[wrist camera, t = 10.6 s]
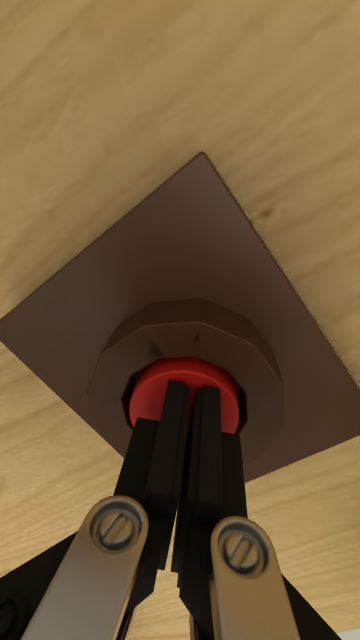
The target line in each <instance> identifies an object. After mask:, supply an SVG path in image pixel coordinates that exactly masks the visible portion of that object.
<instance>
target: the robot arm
mask: <svg viewBox="0 0 360 640" xmlns="http://www.w3.org/2000/svg"><path fill="white" fill-rule="evenodd" d="M190 393H191V388H187V387H185V382H179V381H173V380H168V385H167V390H166V394H165V399H164V404H163V408H162V413H161V418H160V421H158V420H152V419H146V418H140V417H138V418H137V420H136V422H135V426H134V429H133V432H132V436H131V439H130V442H129V445H128V449H127V452H126V455H125V459H124V462H123V465H122V469H121V472H120V475H119V478H118V482H117V485H116V488H115V492H114V495H113V496H109V497H107V498H104V499H102V500H100V501H99V502H98V503H96V504H95V505H94V506H93V507H92V508H91V510H90V511H89V512H88V514H87V515H86V517H85V519H84V521H83V523H82V525H81V527H80V528H79V530H78V531H77V532H75V533H74V534H72V535H70V536H69V537H67V538H66V539H64V540H62V541H61V542H59V543H57V544H56V545H54V546H52V547H51V548H49V549H47V550H46V551H44V552H42V553H41V554H39V555H38V556H36V557H34V558H33V559H31V560H29V561H28V562H26V563H24V564H23V565H21V566H19V567H18V568H16V569H14V570H13V571H11V572H10V573H8V574H6V575H5V576H3V577H1V578H0V640H127V638H128V634H129V631H130V628H131V625H132V621H133V618H134V615H135V611H136V607H137V605H138V604H140V603H141V602H142V601H143V600H144V599H145V598H147V597H148V596H149V595H150V594H151V593H152V592H153V591H154V585H155V580H156V575H157V569H160V570H165V565H166V560H167V555H168V550H169V545H170V541H171V536H172V531H173V526H174V521H175V516H176V511H177V517H176V527H175V536H174V545H173V554H172V564H171V572H176V573H178V582H177V587H178V588H180V594H179V597H180V599H181V600H182V602H183V603H184V605H185V606H186V608H187V609H188V611H189V612H190V615H189V625H190V640H341V639H340V637H339V636H338V635H337V634H336V633H335V632H334V631H333V630H332V629H331V627H330V626H329V625H328V624H327V623H326V622H325V621H324V620H323V619H322V618H321V616H320V615H319V614H318V613H317V612H316V611H315V610H314V609H313V608H312V607H311V605H310V604H309V603H308V602H307V601H306V600H305V599H304V598H303V597H302V595H301V594H300V593H299V592H298V591H297V590H296V589H295V588H294V587H293V586H292V584H291V583H290V582H289V581H288V580H287V579H286V578H285V577H284V576H283V575H282V573H281V571H280V567H279V564H278V560H277V557H276V553H275V550H274V547H273V545H272V542H271V540H270V538H269V536H268V535H267V534H266V532H265V531H264V530H263V529H262V528H261V527H260V526H259V525H258V524H256V523H255V522H254V521H251V520H249V519H248V517H247V506H246V495H245V484H244V473H243V462H242V451H241V440H240V436H239V434H233V433H227V432H221V392H220V388H214V387H209V386H203V388H202V390H199V389H196V392H195V397H194V402H193V407H192V412H191V417H190V422H189V428H188V433H187V438H186V431H187V421H188V412H189V402H190ZM185 440H186V443H185ZM177 506H178V508H177Z"/></svg>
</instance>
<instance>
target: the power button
mask: <svg viewBox="0 0 360 640" xmlns="http://www.w3.org/2000/svg"><path fill="white" fill-rule="evenodd" d="M168 380H173V381H179V382H185V387H187V388H191V393H190V402H189V412H188V421H187V431H186V438H187V433H188V428H189V422H190V417H191V412H192V407H193V402H194V397H195V392H196V389H199V390H202V388H203V386H209V387H214V388H220V392H221V432H227V433H233V434H234V433H235V431H236V429H237V426H238V422H239V408H238V398H237V388H236V380H235V379H234V378H233V377H232V376H231V374H230V373H229V372H228V371H227V370H226V369H224V368H221V367H219V366H216V365H214V364H211V363H209V362H206V361H204V360H202V359H199V358H197V357H194V356H193V357H177V358H161V359H157V360H155V361H154V362H152V363H150V364H149V365H147V366H146V367H144V368H142V369H141V371H140V374H139V377H138V380H137V383H136V386H135V389H134V392H133V395H132V398H131V401H130V406H129V413H130V419H131V422H132V425H133V427H134V426H135V422H136V420H137V418H138V417H140V418H146V419H152V420H158V421H160V418H161V413H162V408H163V404H164V399H165V394H166V390H167V385H168ZM185 443H186V440H185Z"/></svg>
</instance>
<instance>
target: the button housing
mask: <svg viewBox="0 0 360 640" xmlns="http://www.w3.org/2000/svg"><path fill="white" fill-rule="evenodd" d="M0 341H1V342H2V343H3V344H4V345H5V346H6V347H7V348H8V349H9V350H10V351H11V352H13V353H14V354H15V355H16V356H17V357H18V358H19V359H20V360H21V361H22V362H23V363H24V364H25V365H26V366H27V367H28V368H29V369H30V370H32V371H33V372H34V373H35V374H36V375H37V376H38V377H39V378H40V379H41V380H42V381H43V382H44V383H45V384H46V385H47V386H48V387H49V388H51V389H52V390H53V391H54V392H55V393H56V394H57V395H58V396H59V397H60V398H61V399H62V400H63V401H64V402H65V403H66V404H67V405H69V406H70V407H71V408H72V409H73V410H74V411H75V412H76V413H77V414H78V415H79V416H80V417H81V418H82V419H83V420H84V421H85V422H86V423H88V424H89V425H90V426H91V427H92V428H93V429H94V430H95V431H96V432H97V433H98V434H99V435H100V436H101V437H102V438H103V439H104V440H105V441H107V442H108V443H109V444H110V445H111V446H112V447H113V448H114V449H115V450H116V451H117V452H118V453H119V454H120V455H121V456H122V457H123V458H124V459H125V455H126V452H127V449H128V445H129V442H130V439H131V436H132V432H133V429H134V427H133V425H132V422H131V419H130V413H129V406H130V401H131V398H132V395H133V392H134V389H135V386H136V383H137V380H138V377H139V374H140V371H141V369H142V368H144V367H146V366H147V365H149V364H150V363H152V362H154V361H155V360H157V359H161V358H177V357H193V356H194V357H197V358H199V359H202V360H204V361H206V362H209V363H211V364H214V365H216V366H219V367H221V368H224V369H226V370H227V371H228V372H229V373H230V374H231V376H232V377H233V378H234V379H235V380H236V388H237V398H238V408H239V422H238V426H237V429H236V431H235V433H234V434H239V436H240V440H241V451H242V462H243V473H244V483H246V482H249V481H251V480H253V479H256V478H258V477H261V476H263V475H265V474H268V473H270V472H273V471H275V470H277V469H280V468H282V467H285V466H287V465H289V464H292V463H294V462H297V461H299V460H301V459H304V458H306V457H309V456H311V455H313V454H316V453H318V452H321V451H323V450H326V449H328V448H330V447H333V446H335V445H338V444H340V443H342V442H345V441H347V440H350V439H352V438H354V437H357V436H359V435H360V389H359V387H358V385H357V384H356V382H355V381H354V379H353V378H352V376H351V375H350V373H349V372H348V370H347V369H346V367H345V366H344V364H343V363H342V361H341V359H340V358H339V356H338V355H337V353H336V352H335V350H334V349H333V347H332V346H331V344H330V343H329V341H328V340H327V338H326V337H325V335H324V333H323V332H322V330H321V329H320V327H319V326H318V324H317V323H316V321H315V320H314V318H313V317H312V315H311V314H310V312H309V311H308V309H307V307H306V306H305V304H304V303H303V301H302V300H301V298H300V297H299V295H298V294H297V292H296V291H295V289H294V288H293V286H292V285H291V283H290V281H289V280H288V278H287V277H286V275H285V274H284V272H283V271H282V269H281V268H280V266H279V265H278V263H277V262H276V260H275V259H274V257H273V255H272V254H271V252H270V251H269V249H268V248H267V246H266V245H265V243H264V242H263V240H262V239H261V237H260V236H259V234H258V233H257V231H256V229H255V228H254V226H253V225H252V223H251V222H250V220H249V219H248V217H247V216H246V214H245V213H244V211H243V210H242V208H241V207H240V205H239V203H238V202H237V200H236V199H235V197H234V196H233V194H232V193H231V191H230V190H229V188H228V187H227V185H226V184H225V182H224V181H223V179H222V177H221V176H220V174H219V173H218V171H217V170H216V168H215V167H214V165H213V164H212V162H211V161H210V159H209V158H208V156H207V155H206V153H205V152H203V151H202V152H200V153H199V154H197V155H196V156H195V157H194V158H193V159H191V160H190V161H189V162H188V163H187V164H185V165H184V166H183V167H182V168H181V169H179V170H178V171H177V172H176V173H175V174H173V175H172V176H171V177H170V178H169V179H168V180H166V181H165V182H164V183H163V184H162V185H160V186H159V187H158V188H157V189H156V190H154V191H153V192H152V193H151V194H150V195H148V196H147V197H146V198H145V199H144V200H142V201H141V202H140V203H139V204H138V205H136V206H135V207H134V208H133V209H132V210H130V211H129V212H128V213H127V214H126V215H124V216H123V217H122V218H121V219H120V220H118V221H117V222H116V223H115V224H114V225H113V226H111V227H110V228H109V229H108V230H107V231H105V232H104V233H103V234H102V235H101V236H99V237H98V238H97V239H96V240H95V241H93V242H92V243H91V244H90V245H89V246H87V247H86V248H85V249H84V250H83V251H81V252H80V253H79V254H78V255H77V256H75V257H74V258H73V259H72V260H71V261H69V262H68V263H67V264H66V265H65V266H63V267H62V268H61V269H60V270H59V271H58V272H56V273H55V274H54V275H53V276H52V277H50V278H49V279H48V280H47V281H46V282H44V283H43V284H42V285H41V286H40V287H38V288H37V289H36V290H35V291H34V292H32V293H31V294H30V295H29V296H28V297H26V298H25V299H24V300H23V301H22V302H20V303H19V304H18V305H17V306H16V307H14V308H13V309H12V310H11V311H10V312H9V313H7V314H6V315H5V316H4V317H3V318H1V319H0ZM177 508H178V506H177Z"/></svg>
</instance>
